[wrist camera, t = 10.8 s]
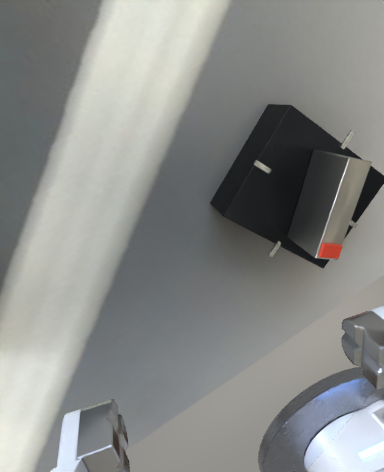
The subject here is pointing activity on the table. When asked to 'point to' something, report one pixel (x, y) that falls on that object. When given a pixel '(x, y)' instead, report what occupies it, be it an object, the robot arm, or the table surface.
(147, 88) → the table surface
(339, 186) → the rotary switch knob
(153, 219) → the table surface
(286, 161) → the rotary switch base
